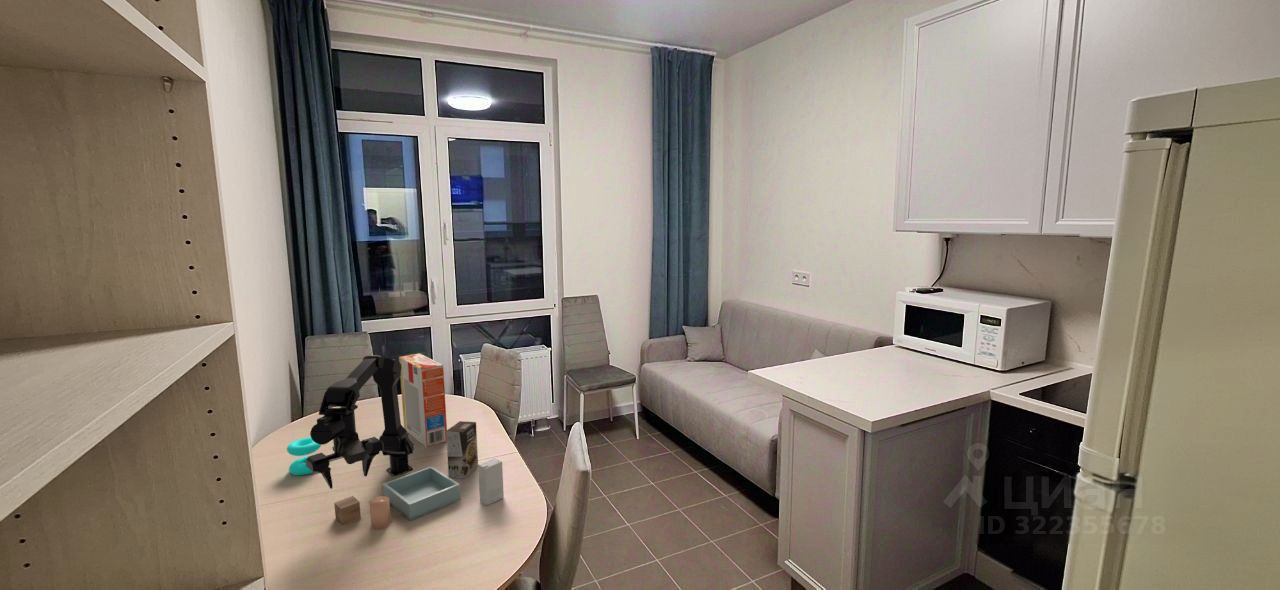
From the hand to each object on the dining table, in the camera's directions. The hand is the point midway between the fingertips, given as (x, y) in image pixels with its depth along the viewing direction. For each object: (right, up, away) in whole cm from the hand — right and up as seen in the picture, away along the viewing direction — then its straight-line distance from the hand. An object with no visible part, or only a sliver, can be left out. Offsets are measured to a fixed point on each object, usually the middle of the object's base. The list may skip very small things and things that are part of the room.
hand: (348, 482), depth 154 cm
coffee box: (+23, -7, +30) cm, 38 cm away
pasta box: (-2, -2, +60) cm, 60 cm away
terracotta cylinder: (+10, -11, -1) cm, 15 cm away
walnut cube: (-1, -11, +2) cm, 11 cm away
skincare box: (+37, -10, +12) cm, 40 cm away
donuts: (-31, -7, +31) cm, 44 cm away
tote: (+16, -9, +12) cm, 22 cm away
